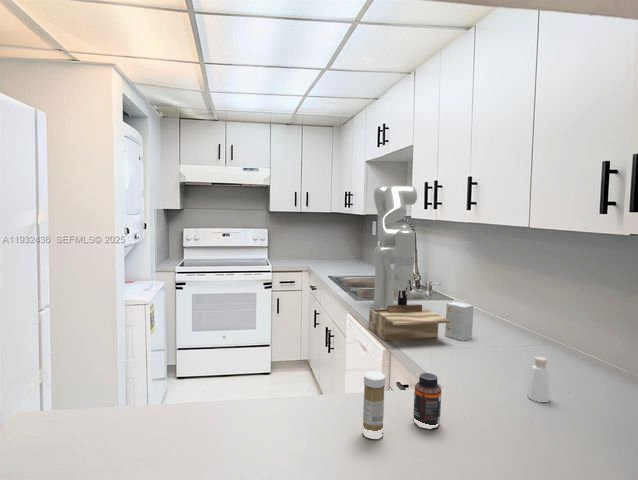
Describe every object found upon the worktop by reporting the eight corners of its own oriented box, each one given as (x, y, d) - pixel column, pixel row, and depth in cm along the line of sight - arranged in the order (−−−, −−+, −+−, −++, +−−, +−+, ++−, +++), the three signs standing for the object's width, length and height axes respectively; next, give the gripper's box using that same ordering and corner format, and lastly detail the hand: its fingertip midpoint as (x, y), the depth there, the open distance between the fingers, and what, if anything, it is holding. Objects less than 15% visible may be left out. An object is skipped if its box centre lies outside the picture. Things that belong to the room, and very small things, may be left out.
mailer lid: (377, 313, 160) (377, 305, 160) (428, 311, 166) (428, 303, 166) (394, 325, 145) (394, 316, 145) (450, 322, 150) (450, 313, 150)
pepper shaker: (522, 395, 111) (524, 355, 110) (537, 392, 113) (539, 353, 112) (539, 404, 106) (542, 362, 105) (554, 401, 108) (557, 360, 107)
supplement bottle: (445, 427, 94) (448, 378, 93) (426, 433, 91) (428, 383, 90) (426, 415, 99) (428, 369, 98) (407, 420, 96) (409, 373, 95)
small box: (472, 338, 160) (474, 305, 159) (463, 341, 156) (465, 307, 155) (453, 333, 166) (455, 301, 165) (444, 335, 162) (446, 303, 161)
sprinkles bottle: (381, 429, 92) (383, 371, 91) (384, 441, 87) (387, 379, 86) (360, 429, 92) (363, 370, 91) (362, 440, 87) (365, 378, 86)
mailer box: (368, 328, 169) (369, 309, 168) (417, 326, 174) (418, 307, 173) (384, 341, 153) (385, 320, 153) (437, 338, 159) (438, 317, 158)
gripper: (387, 259, 169) (385, 303, 170) (403, 264, 154) (401, 312, 156) (404, 259, 171) (402, 303, 172) (421, 264, 156) (419, 311, 157)
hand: (402, 307), depth 164 cm, fingers closed
